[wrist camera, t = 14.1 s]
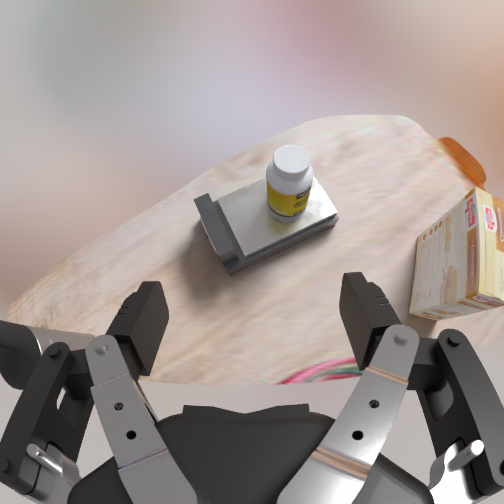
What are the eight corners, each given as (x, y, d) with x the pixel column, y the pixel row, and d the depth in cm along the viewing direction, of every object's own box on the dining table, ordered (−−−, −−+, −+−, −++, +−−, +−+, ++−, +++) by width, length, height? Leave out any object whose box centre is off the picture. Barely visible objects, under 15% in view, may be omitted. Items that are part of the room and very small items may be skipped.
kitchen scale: (226, 277, 46) (217, 264, 38) (199, 217, 49) (188, 196, 42) (335, 225, 47) (345, 204, 40) (301, 172, 51) (305, 146, 43)
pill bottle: (285, 227, 43) (290, 189, 32) (258, 199, 45) (254, 156, 34) (315, 203, 44) (327, 161, 33) (288, 177, 46) (292, 131, 35)
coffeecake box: (437, 321, 40) (511, 305, 22) (406, 314, 41) (477, 294, 23) (445, 245, 44) (507, 202, 26) (416, 235, 46) (474, 184, 27)
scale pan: (245, 258, 43) (244, 255, 42) (218, 202, 46) (217, 199, 45) (336, 215, 44) (337, 212, 43) (303, 166, 48) (304, 162, 46)
